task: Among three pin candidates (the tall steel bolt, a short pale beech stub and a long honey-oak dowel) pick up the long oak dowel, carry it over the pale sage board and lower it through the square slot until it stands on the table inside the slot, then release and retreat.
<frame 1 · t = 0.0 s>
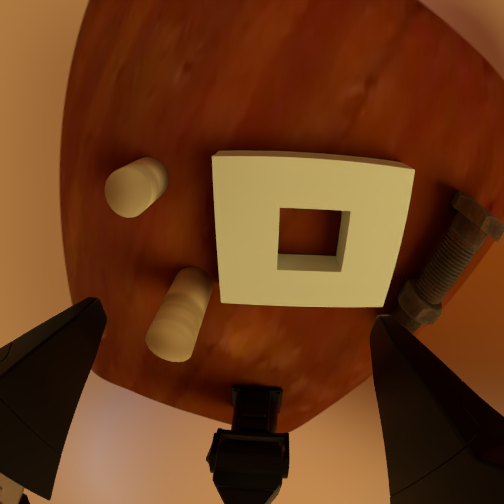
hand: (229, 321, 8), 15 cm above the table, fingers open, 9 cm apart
short pin: (148, 178, 22), on the table
bolt: (427, 261, 23), on the table
board: (309, 227, 22), on the table
long pin: (194, 283, 26), on the table
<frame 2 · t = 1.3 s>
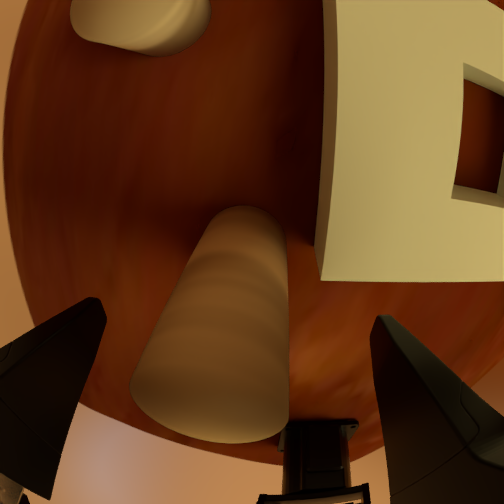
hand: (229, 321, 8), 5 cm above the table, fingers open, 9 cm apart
short pin: (167, 18, 8), on the table
board: (471, 134, 9), on the table
long pin: (244, 244, 12), on the table
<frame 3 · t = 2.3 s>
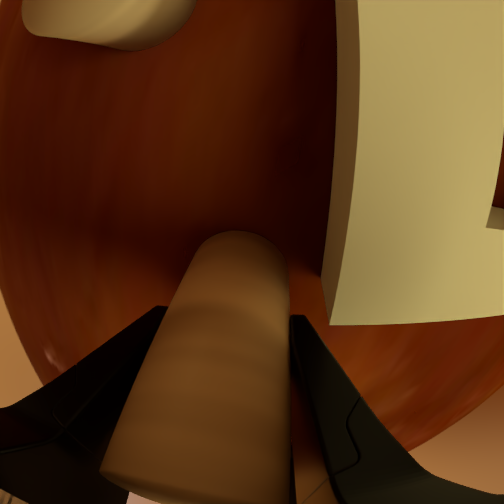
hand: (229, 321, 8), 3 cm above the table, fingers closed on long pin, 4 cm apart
short pin: (145, 5, 6), on the table
board: (501, 146, 7), on the table
long pin: (239, 275, 11), on the table, touching gripper
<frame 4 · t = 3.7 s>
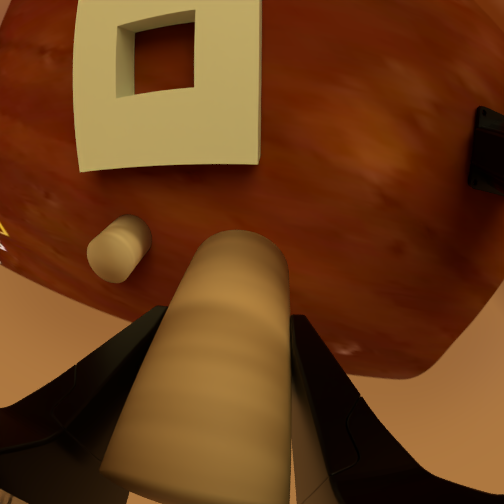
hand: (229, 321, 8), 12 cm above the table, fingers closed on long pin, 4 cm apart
short pin: (131, 235, 21), on the table
board: (167, 58, 15), on the table
long pin: (239, 274, 11), point 9 cm above the table, touching gripper
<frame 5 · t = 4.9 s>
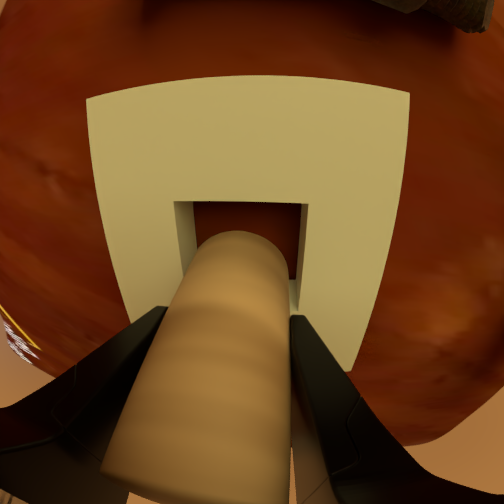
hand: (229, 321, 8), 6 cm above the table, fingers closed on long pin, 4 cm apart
board: (246, 234, 14), on the table
long pin: (239, 275, 11), point 3 cm above the table, touching gripper
when the fingers open (4 cm above the table, at t = 5.5 s): long pin drops 1 cm, resting in board.
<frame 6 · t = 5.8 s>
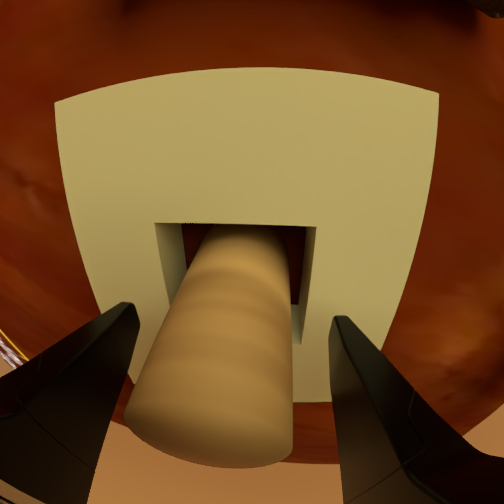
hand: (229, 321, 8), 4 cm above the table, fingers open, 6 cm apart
board: (242, 255, 12), on the table
long pin: (244, 255, 12), resting in board
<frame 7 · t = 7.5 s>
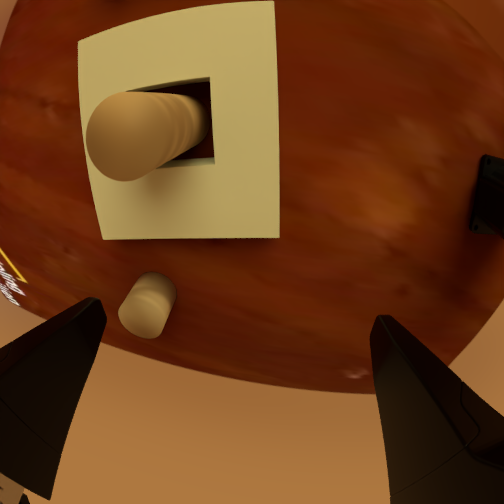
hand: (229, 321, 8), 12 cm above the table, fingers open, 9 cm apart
short pin: (156, 289, 23), on the table
board: (181, 122, 16), on the table
long pin: (182, 122, 16), resting in board
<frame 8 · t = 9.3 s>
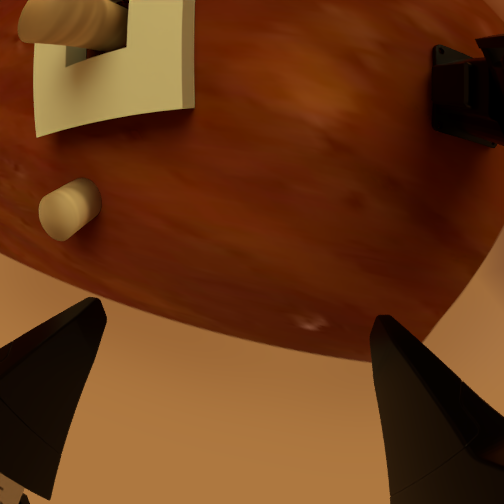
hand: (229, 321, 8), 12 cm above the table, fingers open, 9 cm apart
short pin: (84, 198, 20), on the table
board: (114, 30, 13), on the table
long pin: (114, 30, 13), resting in board
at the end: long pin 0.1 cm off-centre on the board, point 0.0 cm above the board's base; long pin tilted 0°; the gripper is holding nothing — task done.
